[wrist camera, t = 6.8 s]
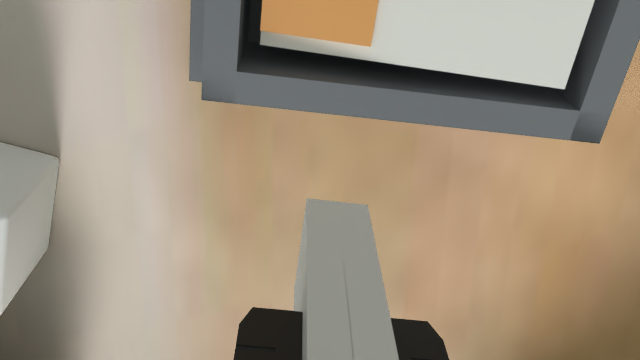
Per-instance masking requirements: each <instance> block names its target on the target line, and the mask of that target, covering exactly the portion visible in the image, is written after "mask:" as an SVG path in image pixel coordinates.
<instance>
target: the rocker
mask: <svg viewBox="0 0 640 360" xmlns="http://www.w3.org/2000/svg"><path fill="white" fill-rule="evenodd" d="M594 1H595V0H262V12H261V25H260V31H261V39H260V45H266V46H273V47H280V48H286V49H293V50H300V51H307V52H314V53H320V54H327V55H334V56H341V57H348V58H354V59H361V60H368V61H375V62H382V63H388V64H395V65H402V66H409V67H416V68H422V69H429V70H436V71H443V72H450V73H456V74H463V75H470V76H477V77H484V78H490V79H497V80H504V81H511V82H518V83H524V84H531V85H538V86H545V87H552V88H559V89H565V87H566V84H567V81H568V78H569V75H570V72H571V69H572V66H573V63H574V60H575V57H576V54H577V51H578V48H579V46H580V43H581V40H582V37H583V34H584V31H585V28H586V25H587V22H588V19H589V16H590V13H591V10H592V7H593V4H594Z"/></svg>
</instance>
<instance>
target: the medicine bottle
mask: <svg viewBox="0 0 640 360" xmlns="http://www.w3.org/2000/svg"><path fill="white" fill-rule="evenodd" d="M58 168H59V159H58V158H57V157H55V156H52V155H48V154H44V153H41V152H37V151H33V150H29V149H25V148H22V147H18V146H14V145H10V144H6V143H2V142H0V315H1V314H2V313H3V311H4V310H5V309H6V307H7V306H8V304H9V303H10V301H11V300H12V299H13V297H14V296H15V294H16V293H17V292H18V290H19V289H20V287H21V286H22V285H23V283H24V282H25V280H26V279H27V277H28V276H29V275H30V273H31V272H32V270H33V269H34V268H35V266H36V265H37V263H38V262H39V260H40V259H41V258H42V256H43V255H44V253H45V252H46V251H47V249H48V246H49V238H50V230H51V223H52V215H53V207H54V199H55V192H56V184H57V176H58Z"/></svg>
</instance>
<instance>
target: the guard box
mask: <svg viewBox="0 0 640 360" xmlns="http://www.w3.org/2000/svg"><path fill="white" fill-rule="evenodd" d="M261 12H262V0H191V23H190V70H189V81H197V82H202V100H207V101H216V102H225V103H234V104H243V105H252V106H261V107H270V108H280V109H289V110H298V111H307V112H316V113H325V114H334V115H343V116H353V117H362V118H371V119H380V120H389V121H398V122H407V123H416V124H425V125H435V126H444V127H453V128H462V129H471V130H480V131H489V132H498V133H508V134H517V135H526V136H535V137H544V138H553V139H562V140H571V141H580V142H590V143H600V141H601V138H602V135H603V133H604V130H605V128H606V125H607V122H608V120H609V117H610V115H611V112H612V109H613V107H614V104H615V102H616V99H617V96H618V94H619V91H620V89H621V86H622V83H623V81H624V78H625V76H626V73H627V70H628V68H629V65H630V63H631V60H632V58H633V55H634V52H635V50H636V47H637V45H638V42H639V39H640V0H595V1H594V4H593V7H592V10H591V13H590V16H589V19H588V22H587V25H586V28H585V31H584V34H583V37H582V40H581V43H580V46H579V48H578V51H577V54H576V57H575V60H574V63H573V66H572V69H571V72H570V75H569V78H568V81H567V84H566V87H565V89H559V88H552V87H545V86H538V85H531V84H524V83H518V82H511V81H504V80H497V79H490V78H484V77H477V76H470V75H463V74H456V73H450V72H443V71H436V70H429V69H422V68H416V67H409V66H402V65H395V64H388V63H382V62H375V61H368V60H361V59H354V58H348V57H341V56H334V55H327V54H320V53H314V52H307V51H300V50H293V49H286V48H280V47H273V46H266V45H260V39H261V31H260V25H261Z"/></svg>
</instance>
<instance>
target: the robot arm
mask: <svg viewBox="0 0 640 360" xmlns="http://www.w3.org/2000/svg"><path fill="white" fill-rule="evenodd" d="M234 360H449V358H448V354H447V351H446V348H445V345H444V342H443V340H442V338H441V337H440V336H439V335H438V334H437V332H436V331H435V330H434V329H433V328H432V326H431V325H430V324H429V323H428V322H427V321H416V320H405V319H394V318H390V313H389V308H388V303H387V298H386V293H385V288H384V283H383V279H382V274H381V269H380V264H379V259H378V254H377V249H376V244H375V239H374V234H373V229H372V224H371V219H370V214H369V210H368V205H364V204H354V203H345V202H335V201H326V200H317V199H307V201H306V208H305V215H304V223H303V230H302V237H301V245H300V252H299V259H298V266H297V274H296V281H295V288H294V311H288V310H277V309H266V308H255V307H253V308H252V309H251V310H250V311H249V313H248V314H247V315H246V316H245V318H244V319H243V320H242V321H241V323H240V324H239V329H238V336H237V342H236V349H235V354H234Z"/></svg>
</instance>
